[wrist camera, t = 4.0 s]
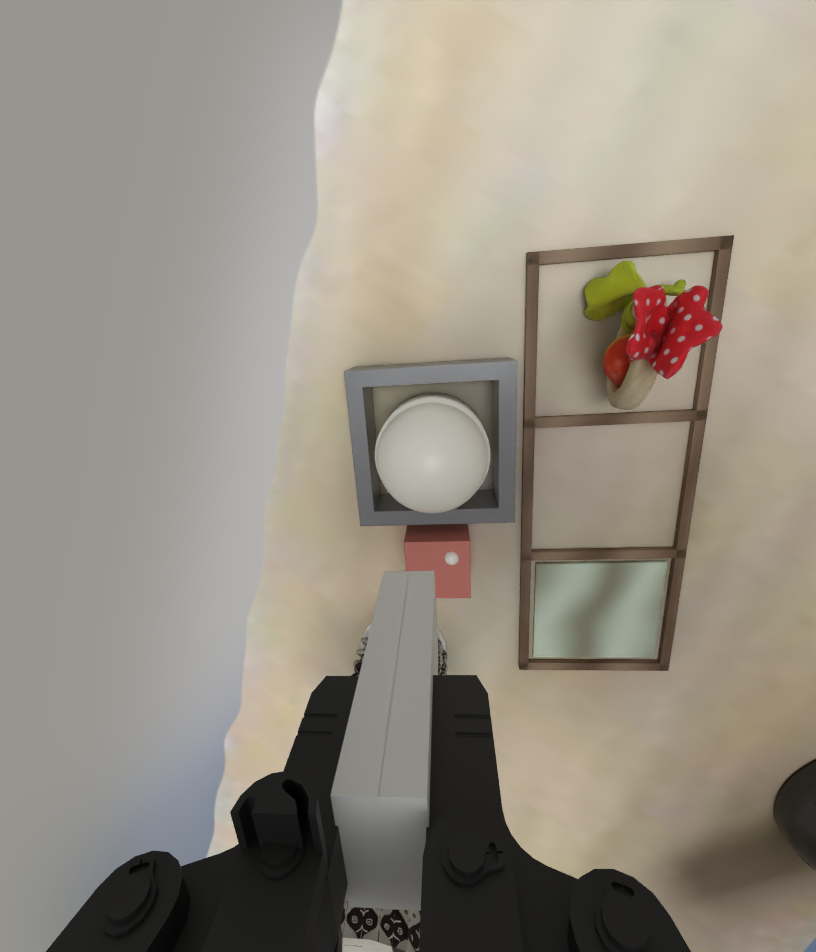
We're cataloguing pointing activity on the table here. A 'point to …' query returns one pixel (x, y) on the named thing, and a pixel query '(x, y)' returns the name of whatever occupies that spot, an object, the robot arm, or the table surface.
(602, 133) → the table surface
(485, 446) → the dome
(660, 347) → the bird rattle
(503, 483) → the dome housing
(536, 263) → the frame
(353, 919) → the decorative candle
